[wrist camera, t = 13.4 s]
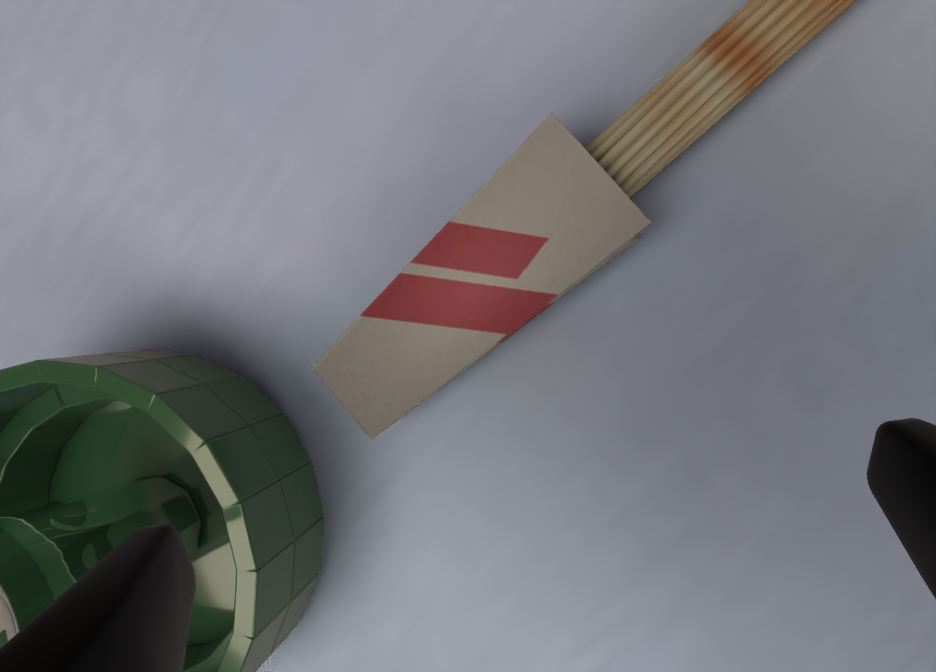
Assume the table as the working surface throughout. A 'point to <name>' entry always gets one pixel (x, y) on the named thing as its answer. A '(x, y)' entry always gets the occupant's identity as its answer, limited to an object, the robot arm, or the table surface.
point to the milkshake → (79, 541)
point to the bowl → (178, 479)
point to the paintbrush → (548, 221)
